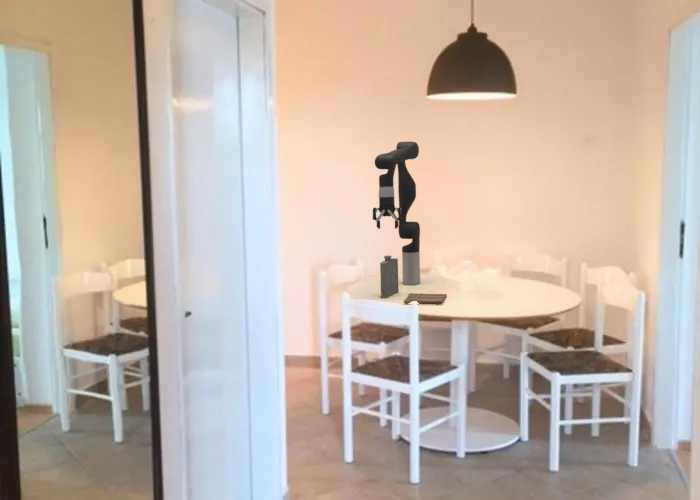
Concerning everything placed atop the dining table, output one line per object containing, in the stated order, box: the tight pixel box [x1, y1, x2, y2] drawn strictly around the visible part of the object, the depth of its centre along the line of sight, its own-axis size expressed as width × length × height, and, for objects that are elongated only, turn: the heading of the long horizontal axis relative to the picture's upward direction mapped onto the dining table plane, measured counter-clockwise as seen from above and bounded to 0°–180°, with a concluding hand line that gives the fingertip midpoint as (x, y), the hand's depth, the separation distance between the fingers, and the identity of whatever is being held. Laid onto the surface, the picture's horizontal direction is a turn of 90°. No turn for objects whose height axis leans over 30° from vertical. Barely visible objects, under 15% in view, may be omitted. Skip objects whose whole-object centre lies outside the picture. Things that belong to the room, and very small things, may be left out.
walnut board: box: [403, 293, 448, 305], centre depth 384 cm, size 18×18×2 cm
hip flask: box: [379, 255, 400, 299], centre depth 398 cm, size 16×4×20 cm, turn 151°
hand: (387, 228), depth 394 cm, fingers open, 8 cm apart
